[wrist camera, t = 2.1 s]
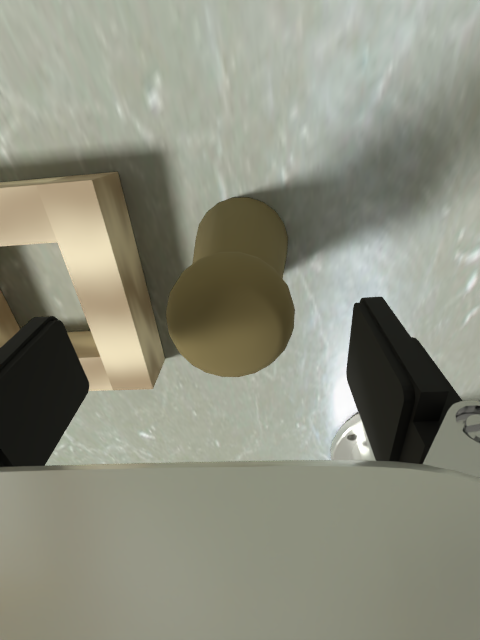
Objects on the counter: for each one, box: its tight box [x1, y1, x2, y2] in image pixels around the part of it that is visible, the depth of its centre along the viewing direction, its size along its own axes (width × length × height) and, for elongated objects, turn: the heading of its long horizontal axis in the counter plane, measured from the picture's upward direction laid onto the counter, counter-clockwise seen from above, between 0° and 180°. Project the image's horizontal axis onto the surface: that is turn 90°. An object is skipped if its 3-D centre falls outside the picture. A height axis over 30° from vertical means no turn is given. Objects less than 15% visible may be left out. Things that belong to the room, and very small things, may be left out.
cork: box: [166, 197, 295, 377], centre depth 17 cm, size 6×6×11 cm
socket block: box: [0, 172, 165, 391], centre depth 22 cm, size 14×14×4 cm
